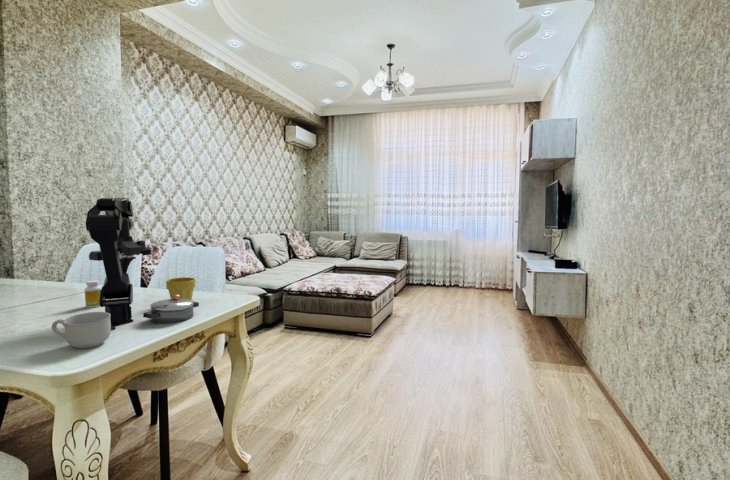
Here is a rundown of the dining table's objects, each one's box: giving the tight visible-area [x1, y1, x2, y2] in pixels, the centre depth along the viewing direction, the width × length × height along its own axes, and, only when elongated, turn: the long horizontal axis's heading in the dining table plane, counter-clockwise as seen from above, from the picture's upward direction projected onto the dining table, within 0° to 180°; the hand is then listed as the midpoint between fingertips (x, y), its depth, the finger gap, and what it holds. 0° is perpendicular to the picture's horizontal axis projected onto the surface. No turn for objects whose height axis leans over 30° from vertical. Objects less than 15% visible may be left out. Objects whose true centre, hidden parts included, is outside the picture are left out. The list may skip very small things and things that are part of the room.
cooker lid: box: [150, 295, 194, 312], centre depth 135 cm, size 13×13×3 cm
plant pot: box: [165, 276, 196, 300], centre depth 154 cm, size 10×10×10 cm
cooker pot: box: [142, 300, 200, 325], centre depth 135 cm, size 18×13×4 cm
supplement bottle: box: [84, 279, 102, 309], centre depth 151 cm, size 5×5×10 cm
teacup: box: [51, 311, 112, 350], centre depth 109 cm, size 14×11×8 cm
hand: (122, 277), depth 140 cm, fingers closed
